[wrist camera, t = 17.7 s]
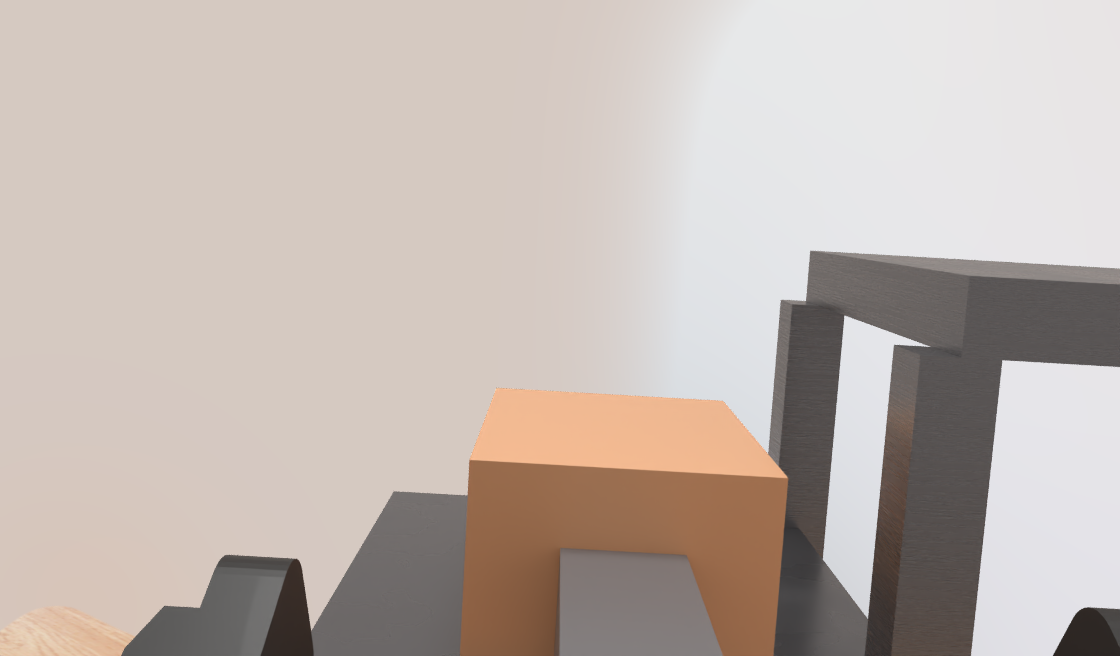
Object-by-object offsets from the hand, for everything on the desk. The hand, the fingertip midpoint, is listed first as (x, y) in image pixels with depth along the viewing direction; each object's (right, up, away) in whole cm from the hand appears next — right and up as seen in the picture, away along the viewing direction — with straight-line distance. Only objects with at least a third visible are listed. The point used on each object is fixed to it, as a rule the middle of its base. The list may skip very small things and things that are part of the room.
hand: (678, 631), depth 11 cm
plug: (0, -4, +8) cm, 9 cm away
